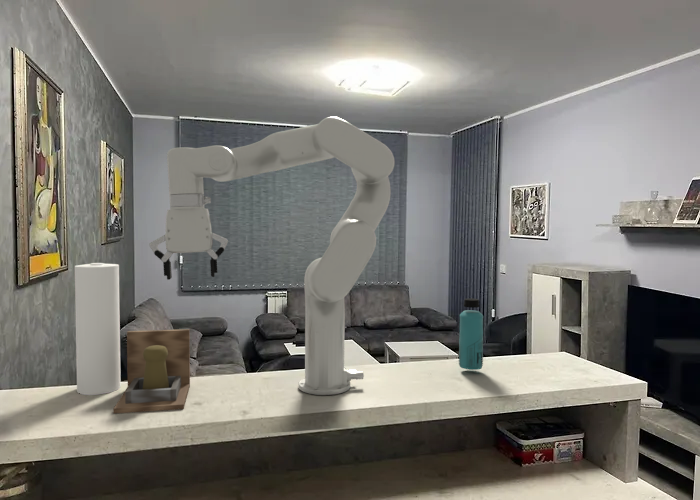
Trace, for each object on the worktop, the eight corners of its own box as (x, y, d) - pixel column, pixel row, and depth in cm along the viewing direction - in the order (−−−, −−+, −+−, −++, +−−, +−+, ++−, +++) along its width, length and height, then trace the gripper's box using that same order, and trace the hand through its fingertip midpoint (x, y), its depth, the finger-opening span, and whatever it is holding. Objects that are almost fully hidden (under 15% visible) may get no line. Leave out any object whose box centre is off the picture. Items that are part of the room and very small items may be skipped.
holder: (189, 386, 129) (189, 329, 128) (183, 409, 113) (183, 344, 112) (128, 389, 126) (127, 331, 125) (113, 413, 110) (112, 347, 109)
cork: (165, 398, 116) (164, 349, 116) (137, 398, 116) (136, 349, 116) (173, 390, 122) (173, 343, 122) (147, 389, 122) (146, 342, 122)
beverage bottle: (478, 376, 139) (480, 301, 137) (454, 372, 142) (455, 299, 141) (486, 371, 144) (487, 298, 143) (462, 367, 148) (464, 296, 146)
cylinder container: (82, 397, 120) (80, 265, 118) (72, 387, 127) (70, 262, 125) (125, 389, 126) (124, 263, 124) (114, 380, 133) (112, 261, 131)
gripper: (226, 202, 126) (229, 273, 127) (149, 204, 122) (153, 278, 123) (225, 201, 119) (229, 277, 120) (144, 203, 115) (149, 281, 116)
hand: (191, 277), depth 121 cm, fingers open, 9 cm apart
